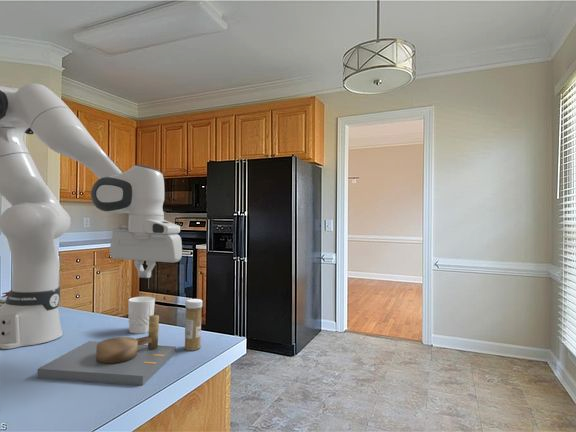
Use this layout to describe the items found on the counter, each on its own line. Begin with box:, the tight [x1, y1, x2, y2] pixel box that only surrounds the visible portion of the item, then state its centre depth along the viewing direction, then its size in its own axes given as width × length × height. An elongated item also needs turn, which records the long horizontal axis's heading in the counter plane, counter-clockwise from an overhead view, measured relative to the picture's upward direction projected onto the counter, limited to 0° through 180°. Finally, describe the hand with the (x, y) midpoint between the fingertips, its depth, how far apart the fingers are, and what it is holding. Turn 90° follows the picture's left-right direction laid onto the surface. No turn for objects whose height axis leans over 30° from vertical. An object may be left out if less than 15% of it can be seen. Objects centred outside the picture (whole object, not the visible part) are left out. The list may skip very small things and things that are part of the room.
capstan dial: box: [96, 314, 160, 363], centre depth 88 cm, size 15×9×8 cm, turn 136°
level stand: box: [36, 340, 176, 386], centre depth 86 cm, size 24×18×2 cm
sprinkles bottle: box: [184, 298, 203, 351], centre depth 99 cm, size 5×5×14 cm
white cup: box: [127, 296, 156, 335], centre depth 112 cm, size 8×8×10 cm
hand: (144, 277), depth 95 cm, fingers closed
